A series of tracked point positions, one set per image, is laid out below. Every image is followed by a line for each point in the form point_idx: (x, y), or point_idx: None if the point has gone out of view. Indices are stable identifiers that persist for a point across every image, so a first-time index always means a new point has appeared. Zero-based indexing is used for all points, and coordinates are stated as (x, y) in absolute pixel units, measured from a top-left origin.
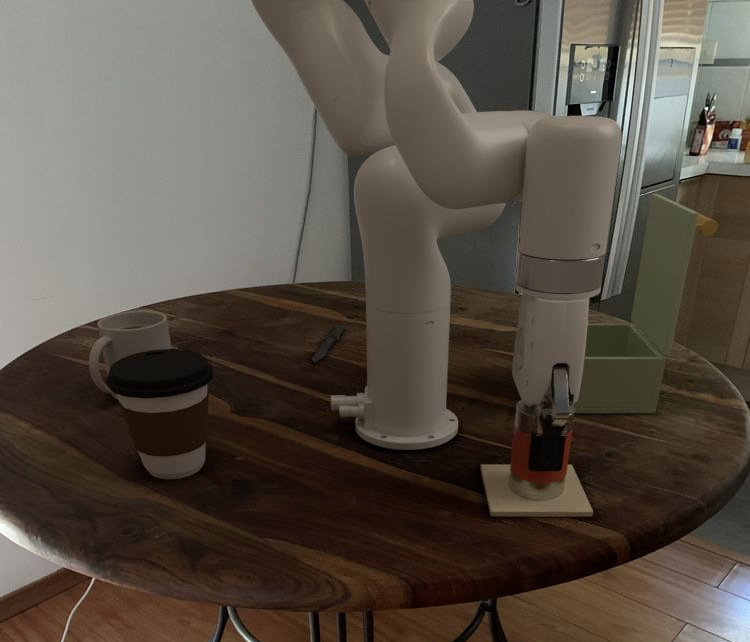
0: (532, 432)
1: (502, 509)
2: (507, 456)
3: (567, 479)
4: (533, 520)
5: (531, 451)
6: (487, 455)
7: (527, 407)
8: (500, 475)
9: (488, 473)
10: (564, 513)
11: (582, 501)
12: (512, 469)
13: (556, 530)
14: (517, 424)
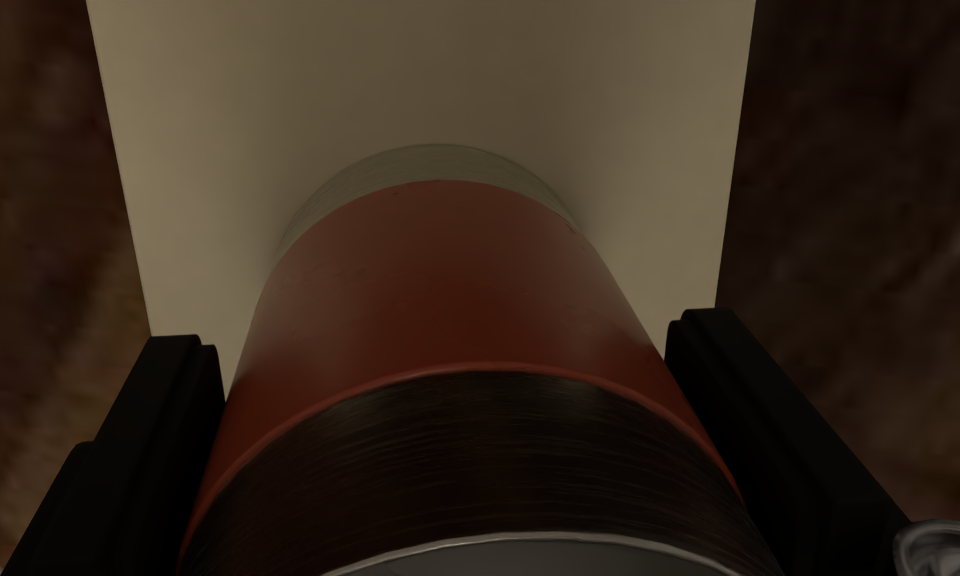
0: (65, 568)
1: (126, 69)
2: (887, 174)
3: None
4: (106, 240)
5: (103, 433)
6: (928, 47)
7: None
8: (586, 104)
9: (623, 23)
10: None
11: None
12: (380, 198)
13: (22, 343)
14: (378, 416)
